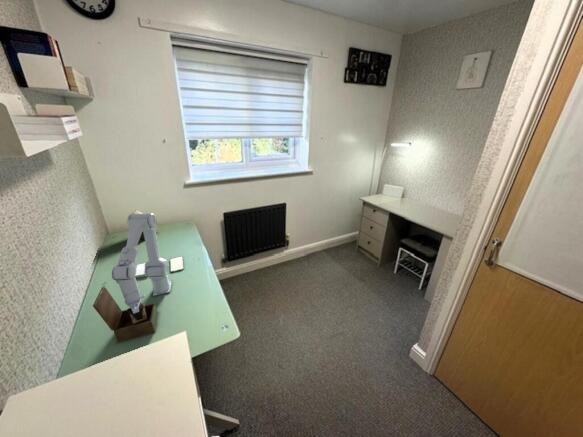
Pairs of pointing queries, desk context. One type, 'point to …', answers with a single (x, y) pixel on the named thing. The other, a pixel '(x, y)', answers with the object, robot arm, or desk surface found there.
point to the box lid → (107, 308)
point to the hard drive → (140, 270)
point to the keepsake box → (135, 324)
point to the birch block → (143, 315)
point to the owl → (142, 232)
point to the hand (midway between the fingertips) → (139, 314)
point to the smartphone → (176, 264)
